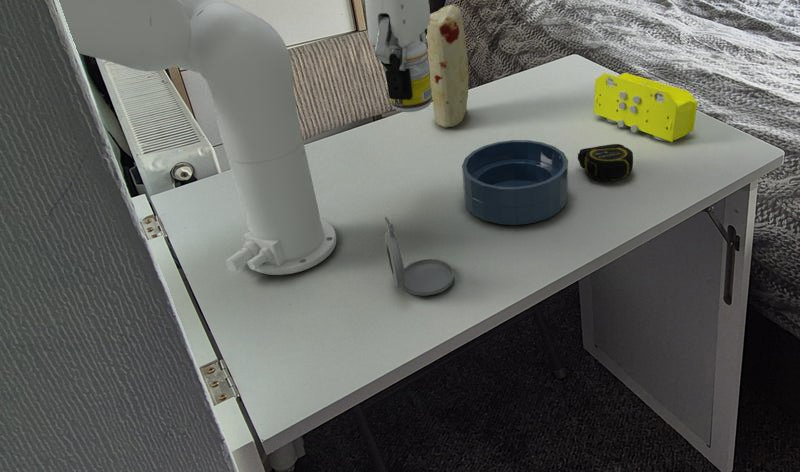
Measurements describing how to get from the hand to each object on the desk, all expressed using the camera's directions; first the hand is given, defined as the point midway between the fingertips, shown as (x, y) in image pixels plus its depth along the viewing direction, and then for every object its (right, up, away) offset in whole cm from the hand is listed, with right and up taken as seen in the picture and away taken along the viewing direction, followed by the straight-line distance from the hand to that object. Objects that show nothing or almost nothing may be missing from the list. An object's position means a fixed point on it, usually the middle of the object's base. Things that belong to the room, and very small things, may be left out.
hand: (410, 87), depth 87 cm
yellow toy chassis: (+38, -2, +20) cm, 43 cm away
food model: (+8, +1, +31) cm, 32 cm away
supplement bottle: (0, -2, +2) cm, 3 cm away
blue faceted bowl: (+15, -15, +5) cm, 22 cm away
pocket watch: (+1, -26, -8) cm, 27 cm away
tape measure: (+29, -11, +9) cm, 32 cm away
